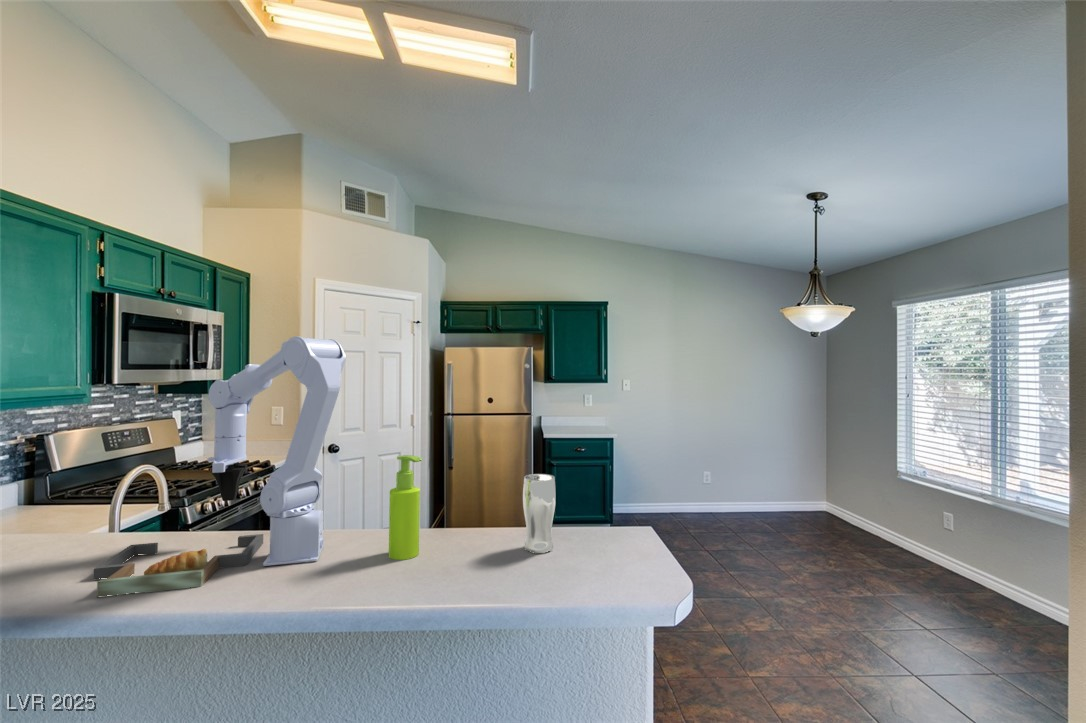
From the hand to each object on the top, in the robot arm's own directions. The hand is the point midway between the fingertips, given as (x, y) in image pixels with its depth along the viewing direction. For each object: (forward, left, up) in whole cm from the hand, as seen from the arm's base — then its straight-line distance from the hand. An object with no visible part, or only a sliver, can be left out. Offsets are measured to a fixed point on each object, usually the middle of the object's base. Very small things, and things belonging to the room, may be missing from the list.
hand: (229, 499), depth 101 cm
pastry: (+3, +14, -10) cm, 18 cm away
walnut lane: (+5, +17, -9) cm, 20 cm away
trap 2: (-5, +8, -9) cm, 13 cm away
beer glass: (-63, +21, -10) cm, 67 cm away
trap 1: (+14, +8, -9) cm, 19 cm away
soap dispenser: (-36, +17, -10) cm, 41 cm away
